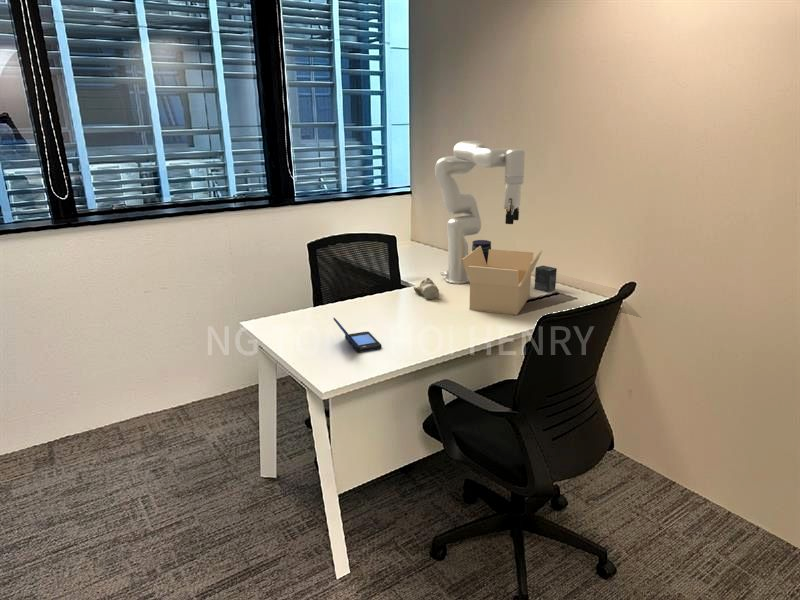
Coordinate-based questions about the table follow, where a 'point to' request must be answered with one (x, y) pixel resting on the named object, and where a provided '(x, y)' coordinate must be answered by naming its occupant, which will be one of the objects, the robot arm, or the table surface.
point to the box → (545, 278)
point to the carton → (498, 280)
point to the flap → (531, 268)
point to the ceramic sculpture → (427, 289)
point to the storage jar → (484, 245)
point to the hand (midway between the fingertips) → (512, 221)
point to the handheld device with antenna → (361, 340)
